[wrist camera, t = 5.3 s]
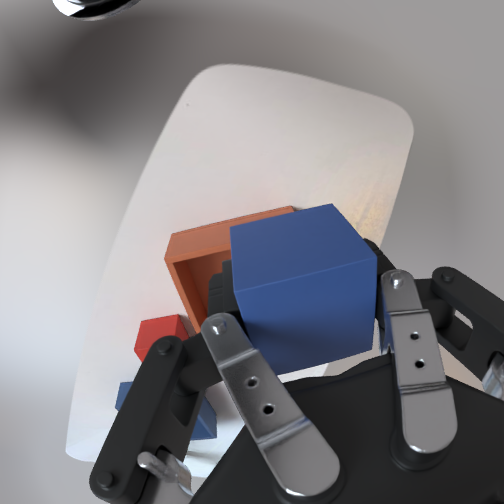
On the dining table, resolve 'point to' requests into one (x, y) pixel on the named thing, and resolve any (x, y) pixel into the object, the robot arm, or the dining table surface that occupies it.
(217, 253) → the terracotta bin
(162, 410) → the robot arm
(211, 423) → the blue bin
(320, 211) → the blue block
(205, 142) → the dining table surface
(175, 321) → the red block
